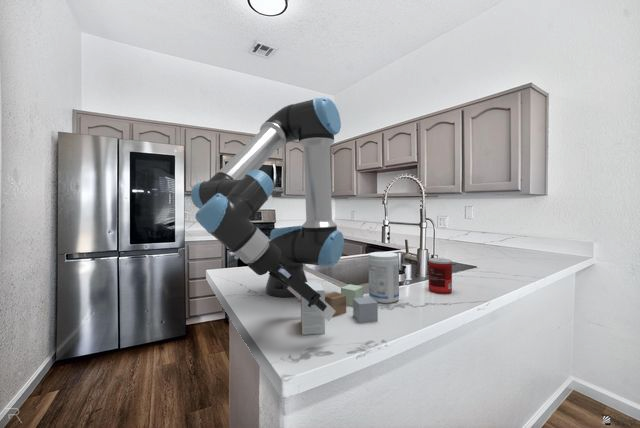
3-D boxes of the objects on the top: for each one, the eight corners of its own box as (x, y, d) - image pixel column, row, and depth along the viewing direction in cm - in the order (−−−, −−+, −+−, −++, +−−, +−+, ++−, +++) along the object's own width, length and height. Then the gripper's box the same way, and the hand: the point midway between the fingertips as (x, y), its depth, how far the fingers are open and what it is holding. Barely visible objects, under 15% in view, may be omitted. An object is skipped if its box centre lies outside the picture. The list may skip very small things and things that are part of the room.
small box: (300, 321, 74) (300, 281, 73) (322, 320, 74) (321, 281, 74) (301, 335, 66) (300, 290, 65) (325, 334, 66) (324, 289, 66)
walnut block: (321, 312, 80) (321, 294, 80) (334, 308, 83) (334, 291, 83) (332, 317, 76) (332, 299, 76) (346, 313, 79) (346, 295, 79)
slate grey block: (353, 316, 77) (353, 298, 77) (370, 314, 78) (370, 296, 78) (359, 323, 72) (359, 304, 72) (377, 321, 73) (377, 302, 73)
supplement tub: (388, 293, 97) (387, 250, 97) (405, 301, 88) (405, 255, 88) (363, 296, 94) (363, 252, 93) (378, 305, 85) (378, 257, 84)
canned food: (447, 287, 103) (447, 257, 102) (455, 294, 95) (455, 262, 94) (425, 287, 103) (425, 257, 103) (432, 294, 95) (432, 261, 95)
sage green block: (341, 303, 87) (340, 287, 87) (349, 299, 91) (349, 284, 91) (355, 307, 84) (354, 290, 84) (363, 302, 88) (362, 286, 88)
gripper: (235, 256, 73) (290, 304, 80) (262, 277, 51) (334, 339, 58) (255, 235, 75) (306, 283, 83) (289, 245, 53) (355, 309, 61)
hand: (318, 306), depth 71 cm, fingers open, 13 cm apart
